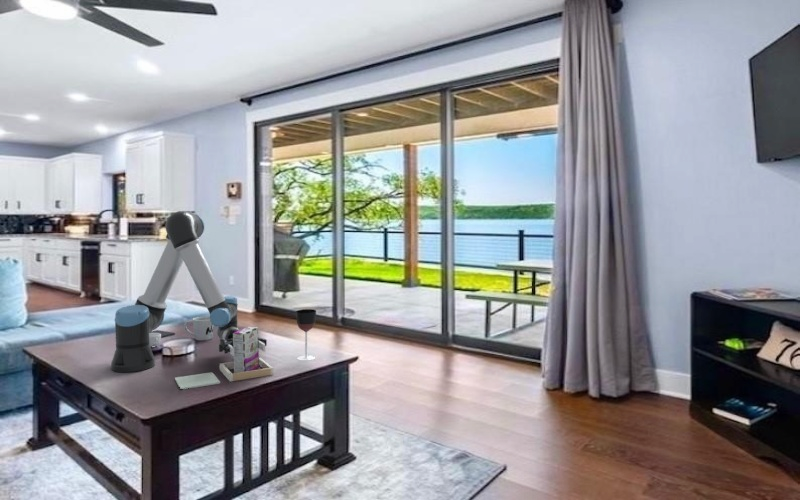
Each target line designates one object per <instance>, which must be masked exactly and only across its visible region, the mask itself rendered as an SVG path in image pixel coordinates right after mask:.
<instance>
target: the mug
mask: <svg viewBox="0 0 800 500" xmlns="http://www.w3.org/2000/svg"><path fill="white" fill-rule="evenodd" d="M189 323H191V324H192V327H193V332H192V331H190V329H188V327H187V325H188V324H189ZM214 328H215V326H214V325H213V324H212V323H211V322H210V315H209V316H206V315H205V316H196V317H193V318H192V319H190V320H186V321H185V322H184V324H183V329H184V330H185V332H186V333H188V334H190V335H192V336H194V339H195V340H196V341H209V340H211V339H213V336H214V335H213V334H214V330H215V329H214Z"/></svg>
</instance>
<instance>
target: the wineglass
mask: <svg viewBox="0 0 800 500" xmlns="http://www.w3.org/2000/svg"><path fill="white" fill-rule="evenodd" d="M295 315H296V323H297V326H298V328H299V329H300V330H301V331H302V332H304V334H305V335H304V336H305V337H304V339H305V341H304V342H305V347H304V350H305V354H304V355H301V356H298V357H297V358H296V359H297V360H299V361H312V360H314V359H316V356H314V355H308V332H309V331H310V330H312V329H313V328H314V327H315V325H316V319H317V310H316V309H311V308H310V309H309V308H308V309H307V308H306V309H304V308H303V309H298V310H296V312H295ZM313 356H314V357H313Z"/></svg>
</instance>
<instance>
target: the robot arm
mask: <svg viewBox="0 0 800 500" xmlns="http://www.w3.org/2000/svg"><path fill="white" fill-rule="evenodd" d="M164 226H165V231H166V232H165V233H166V236H165V239H166V242H167V244H166V245H165V247H164V250H163V252H162V254H161V256H160V258H159V261H158V263H157V265H156V267H155V269H154V270H153V271H154V272H153V273H152V275H151V278H150V279H149V280H150V281H149V283H148V285H147V287H146V289H145V291H144V293H143V294H142V295H139V296H138V297H137V299H136V301H135V304H131V305H126V306H123V307H120V308H118V309H117V310H116V311H115V316H114V325H115V328H114V329H115V331H114V332H115V352H114V354H113V357H112V361H111V364H110V367H111V368H110V369H111V371H113V372H115V373H116V372H117V373H134V372H140V371H144V370H148V369H150V368H152V367H154V366H155V364H156V361H155V360H156V358H155V356H154V354H153V351H152V348H150V343H149V332H151V331H156V330H157V329H158V328H159V327H160V326H161V324H162V323H163V322H164V320H165V319H164V318H165V312H166V309H167V307H168V306H167V304H166V300H167V298H168V296H169V294H170V291H171V289H172V287H173V284H174V283H175V280H176V279H177V275H178V274H179V272H180V269H181V267H182V265H183V263H184V265H185V267H186V269H187V270H188V272H189V274H190V275H189V276H191V278H192V280H193V282H194V285H195V286H196V288H197V291H198V293H199V294H200V297H201V299H202V301H203V303H204V305H205V307H206V308H207V311H208V313H209V316H210V322H211V323H212V324H213V325H214V327H216V328H217V330H216V334H217V336H218V338H219V345H218V352H219V353H222V352H223V351H224V354H228V353H229V355H231V356H232V357H233V356H234V348H233V333H235V332H237V331H239V330H240V329H239V328H238V325H239V324H238V306H239V305H238V298H237V297H236V296H232V295H231V296H229V295H227V296H224V294H223V292H222V291H221V287H220V286H219V284H218V281H217V280H216V278H215V275H214V274H213V272H212V270H211V268H210V266H209V263H208V261H207V259H206V257H205V255H204V253H203V251H202V248H201V247H200V245H199V241H200V239H199V238H201V236H202V235H203V233H204V231H205V222H204V220H203V219H202V218H201V216H200V215H199V214H196V213H195V212H191V211H176V212H174V213H172V214H170V216H169V217H167V219H166V221H165V225H164ZM267 341H268V340H267V339H265V338H261V337H258V350H261V351H262V352H263V353H264V352H266V347H267Z"/></svg>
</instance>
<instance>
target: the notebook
mask: <svg viewBox="0 0 800 500" xmlns="http://www.w3.org/2000/svg"><path fill="white" fill-rule="evenodd" d="M149 333H160V334H161V339H163V338H168V337H171V336H175V335H176V332H174V331H173V332H172V331H166V330H165V331H164V330H161V329H160V330H159V329H158V330H157V329H155V330H153V331H151V332H149Z"/></svg>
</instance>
